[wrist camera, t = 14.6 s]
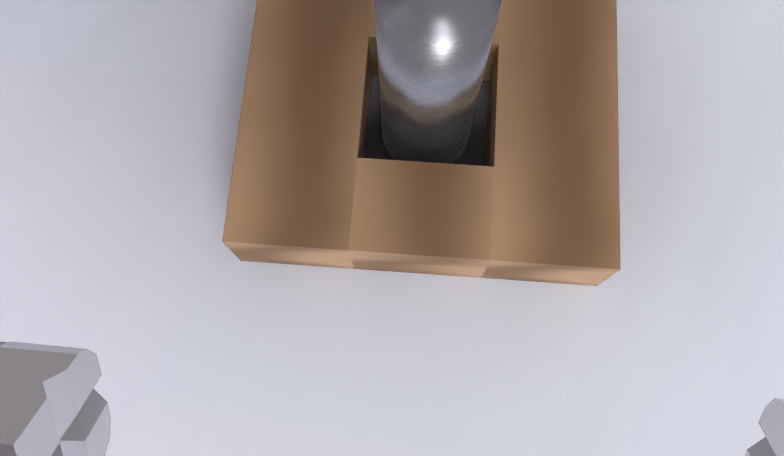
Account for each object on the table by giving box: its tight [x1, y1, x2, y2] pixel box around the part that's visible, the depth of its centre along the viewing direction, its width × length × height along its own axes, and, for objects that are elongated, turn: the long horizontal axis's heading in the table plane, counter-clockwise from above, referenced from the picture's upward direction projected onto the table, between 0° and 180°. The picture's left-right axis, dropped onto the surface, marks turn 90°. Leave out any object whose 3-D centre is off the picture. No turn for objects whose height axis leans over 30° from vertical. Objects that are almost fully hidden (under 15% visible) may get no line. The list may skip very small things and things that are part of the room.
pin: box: [374, 0, 502, 164], centre depth 24 cm, size 4×4×10 cm
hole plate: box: [222, 0, 620, 286], centre depth 27 cm, size 14×12×3 cm
